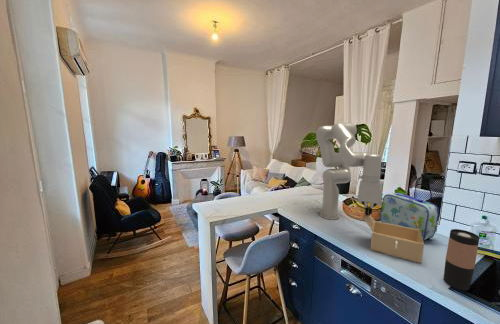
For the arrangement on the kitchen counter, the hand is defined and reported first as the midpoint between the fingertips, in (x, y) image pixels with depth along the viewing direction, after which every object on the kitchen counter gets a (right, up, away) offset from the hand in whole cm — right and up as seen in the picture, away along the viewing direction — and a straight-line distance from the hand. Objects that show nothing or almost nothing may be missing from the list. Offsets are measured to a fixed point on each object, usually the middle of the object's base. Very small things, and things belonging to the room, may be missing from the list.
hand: (368, 214), depth 108 cm
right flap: (+17, -4, -10) cm, 20 cm away
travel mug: (+18, -19, -27) cm, 38 cm away
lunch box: (+28, -13, +13) cm, 34 cm away
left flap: (+1, -2, 0) cm, 2 cm away
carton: (+10, -16, -5) cm, 19 cm away
